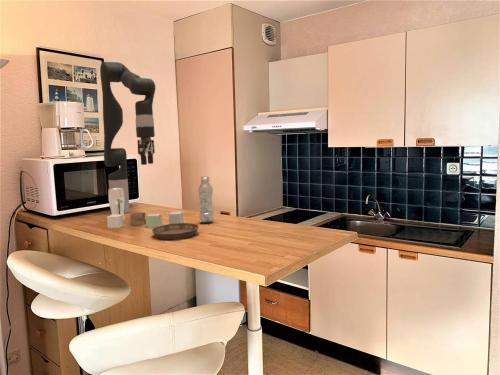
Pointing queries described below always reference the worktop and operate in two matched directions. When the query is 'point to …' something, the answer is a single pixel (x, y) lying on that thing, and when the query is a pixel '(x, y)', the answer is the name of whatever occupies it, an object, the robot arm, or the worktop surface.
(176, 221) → the grey block
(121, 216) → the white block
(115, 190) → the beer glass
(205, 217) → the plastic bottle
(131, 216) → the walnut block
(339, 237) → the worktop surface
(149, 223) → the green block
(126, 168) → the robot arm
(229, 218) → the worktop surface
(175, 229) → the plant saucer
